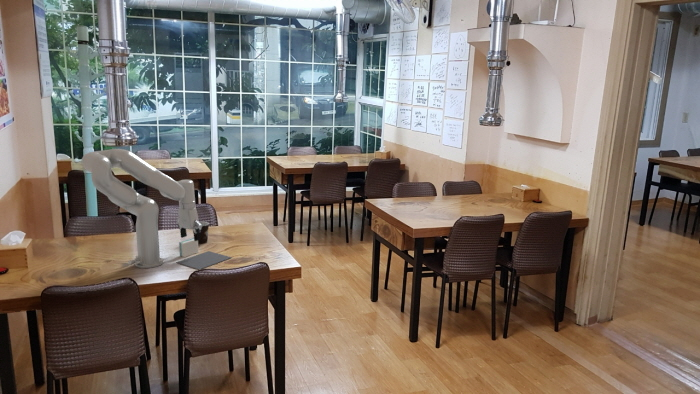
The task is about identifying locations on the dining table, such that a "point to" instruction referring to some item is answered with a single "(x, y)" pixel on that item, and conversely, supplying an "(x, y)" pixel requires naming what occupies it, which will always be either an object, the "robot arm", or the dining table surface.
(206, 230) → the coffee mug
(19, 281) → the dining table surface
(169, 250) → the dining table surface
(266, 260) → the dining table surface
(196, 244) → the card deck
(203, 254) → the mat
